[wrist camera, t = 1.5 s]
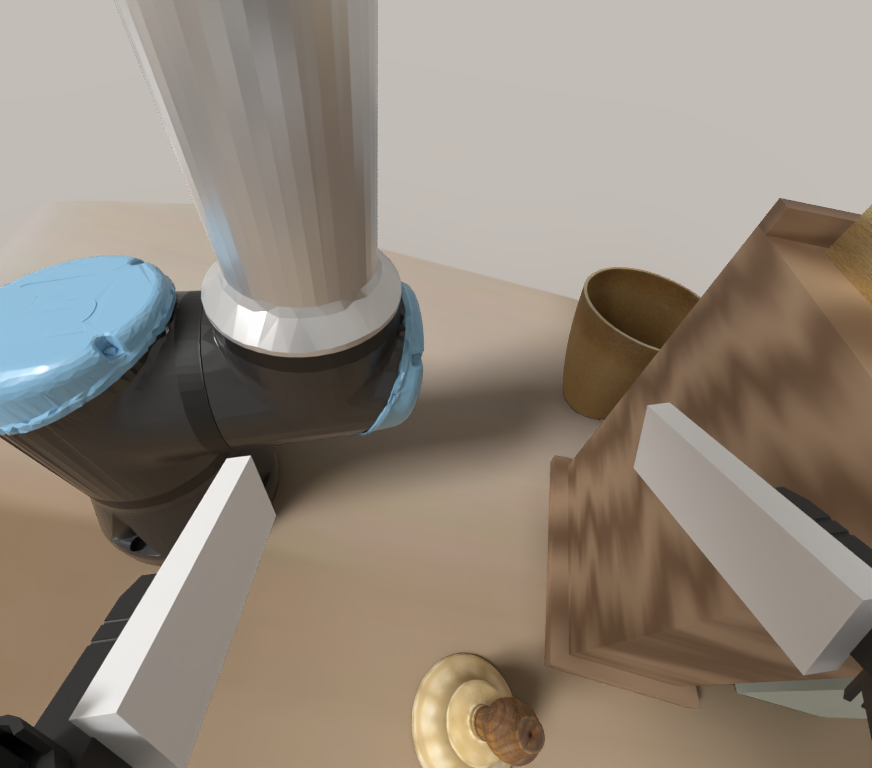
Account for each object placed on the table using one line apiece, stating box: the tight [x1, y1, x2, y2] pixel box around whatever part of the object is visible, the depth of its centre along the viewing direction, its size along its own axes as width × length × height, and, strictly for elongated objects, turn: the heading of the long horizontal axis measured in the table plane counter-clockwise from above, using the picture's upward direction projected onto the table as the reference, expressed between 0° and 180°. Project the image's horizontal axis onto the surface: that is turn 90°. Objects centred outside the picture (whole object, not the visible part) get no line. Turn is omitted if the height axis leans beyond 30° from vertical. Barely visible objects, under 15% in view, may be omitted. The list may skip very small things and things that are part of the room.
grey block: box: [735, 677, 867, 719], centre depth 27 cm, size 10×7×21 cm
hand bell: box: [412, 653, 545, 768], centre depth 23 cm, size 8×8×16 cm
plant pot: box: [563, 267, 701, 419], centre depth 46 cm, size 15×15×16 cm
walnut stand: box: [545, 198, 872, 708], centre depth 26 cm, size 20×12×32 cm, turn 167°
